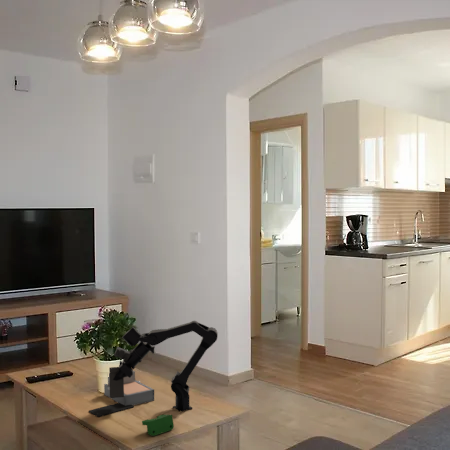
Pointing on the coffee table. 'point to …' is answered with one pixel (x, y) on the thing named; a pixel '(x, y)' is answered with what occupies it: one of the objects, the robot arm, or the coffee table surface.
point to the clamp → (159, 424)
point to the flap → (131, 385)
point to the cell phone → (109, 409)
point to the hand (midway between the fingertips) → (113, 379)
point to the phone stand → (116, 384)
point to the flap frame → (132, 396)
